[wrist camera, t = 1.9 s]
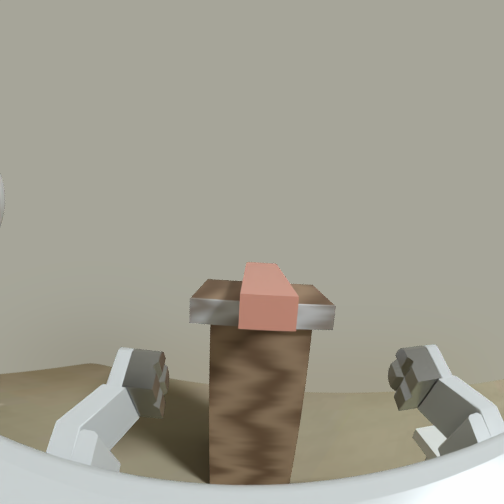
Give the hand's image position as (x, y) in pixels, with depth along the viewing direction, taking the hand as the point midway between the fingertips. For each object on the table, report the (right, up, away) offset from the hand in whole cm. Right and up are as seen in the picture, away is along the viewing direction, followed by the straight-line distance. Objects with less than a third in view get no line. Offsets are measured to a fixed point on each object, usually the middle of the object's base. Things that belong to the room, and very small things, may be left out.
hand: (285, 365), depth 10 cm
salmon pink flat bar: (0, -1, +23) cm, 23 cm away
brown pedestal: (-1, -26, +28) cm, 38 cm away
